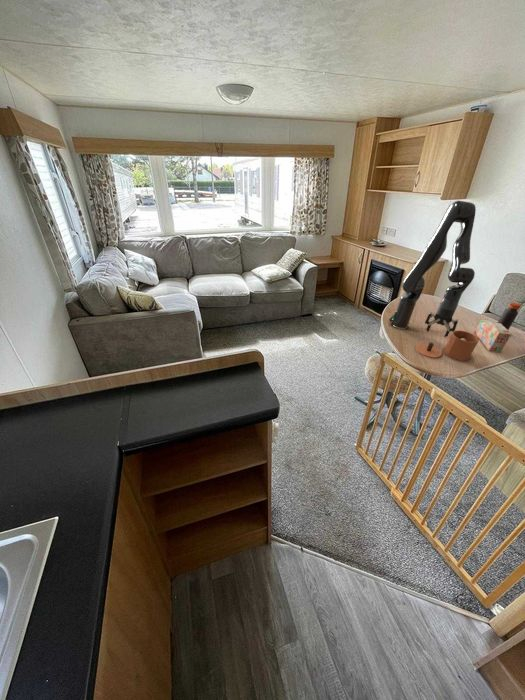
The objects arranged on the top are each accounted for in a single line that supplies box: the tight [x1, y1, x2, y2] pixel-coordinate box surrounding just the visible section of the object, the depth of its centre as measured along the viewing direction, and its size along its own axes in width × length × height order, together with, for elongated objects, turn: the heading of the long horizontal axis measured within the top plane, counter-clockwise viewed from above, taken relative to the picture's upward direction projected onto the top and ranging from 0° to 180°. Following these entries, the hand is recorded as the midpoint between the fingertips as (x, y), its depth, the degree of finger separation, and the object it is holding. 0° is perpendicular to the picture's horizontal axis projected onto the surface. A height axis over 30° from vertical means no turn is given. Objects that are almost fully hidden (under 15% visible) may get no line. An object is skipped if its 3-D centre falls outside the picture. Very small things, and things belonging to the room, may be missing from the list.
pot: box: [443, 329, 480, 361], centre depth 158 cm, size 12×12×12 cm
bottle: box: [497, 302, 522, 331], centre depth 178 cm, size 7×7×20 cm
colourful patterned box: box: [474, 319, 512, 353], centre depth 170 cm, size 21×6×12 cm, turn 168°
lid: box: [415, 341, 443, 359], centre depth 161 cm, size 14×14×6 cm
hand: (436, 333), depth 156 cm, fingers open, 8 cm apart
